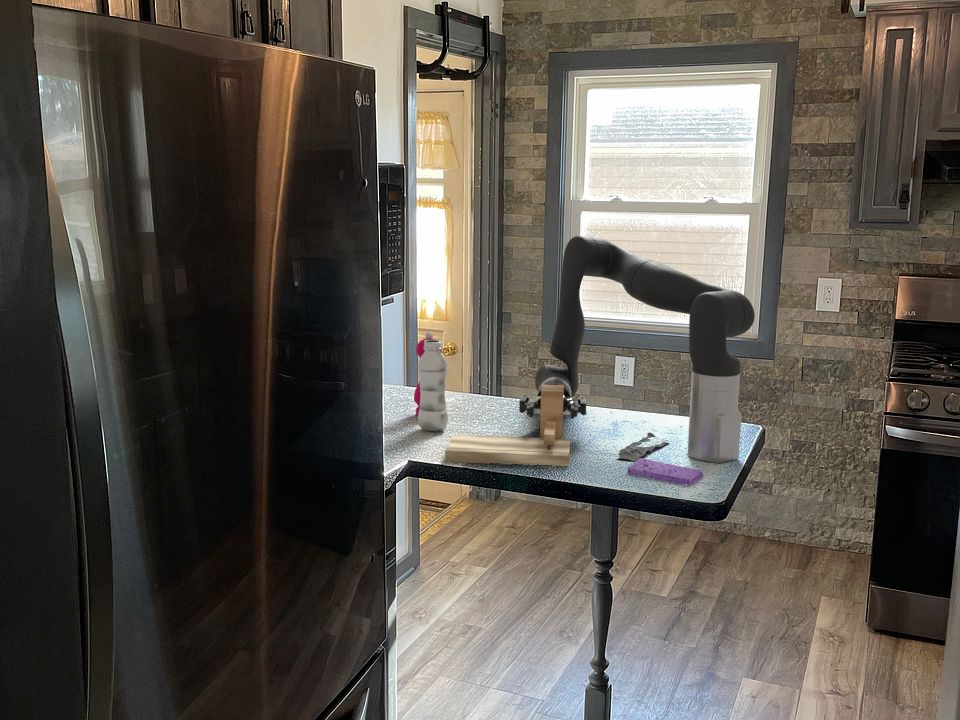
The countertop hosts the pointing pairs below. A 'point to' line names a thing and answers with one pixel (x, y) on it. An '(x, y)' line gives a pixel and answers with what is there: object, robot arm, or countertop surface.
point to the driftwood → (638, 449)
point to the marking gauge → (551, 413)
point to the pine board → (507, 450)
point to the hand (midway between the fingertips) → (551, 413)
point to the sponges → (664, 471)
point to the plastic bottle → (432, 387)
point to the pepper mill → (420, 352)
